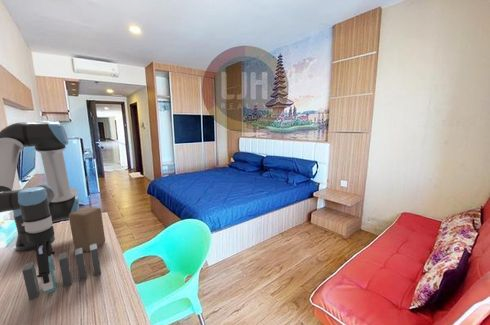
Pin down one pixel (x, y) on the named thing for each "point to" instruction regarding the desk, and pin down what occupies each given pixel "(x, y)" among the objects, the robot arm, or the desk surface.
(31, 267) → the domino
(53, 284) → the domino
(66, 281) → the domino
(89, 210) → the block
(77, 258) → the domino
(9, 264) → the desk surface
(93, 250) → the domino
